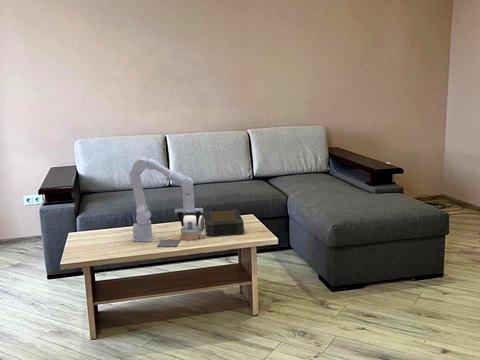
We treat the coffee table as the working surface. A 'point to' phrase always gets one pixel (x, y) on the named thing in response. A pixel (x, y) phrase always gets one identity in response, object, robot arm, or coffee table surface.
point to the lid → (190, 228)
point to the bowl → (190, 236)
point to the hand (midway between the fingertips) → (190, 225)
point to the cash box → (223, 223)
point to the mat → (168, 243)
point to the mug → (193, 221)
